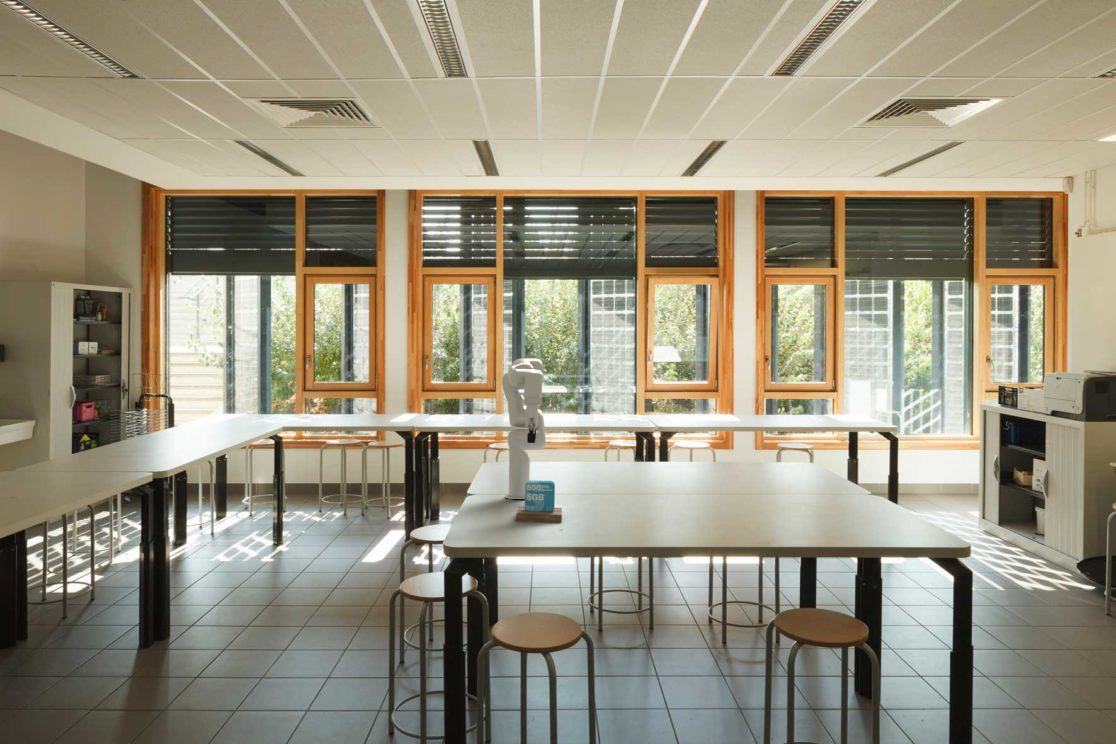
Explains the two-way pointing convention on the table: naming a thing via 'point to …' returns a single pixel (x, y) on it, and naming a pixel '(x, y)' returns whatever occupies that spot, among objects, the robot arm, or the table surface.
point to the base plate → (539, 515)
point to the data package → (539, 496)
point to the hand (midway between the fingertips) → (531, 440)
